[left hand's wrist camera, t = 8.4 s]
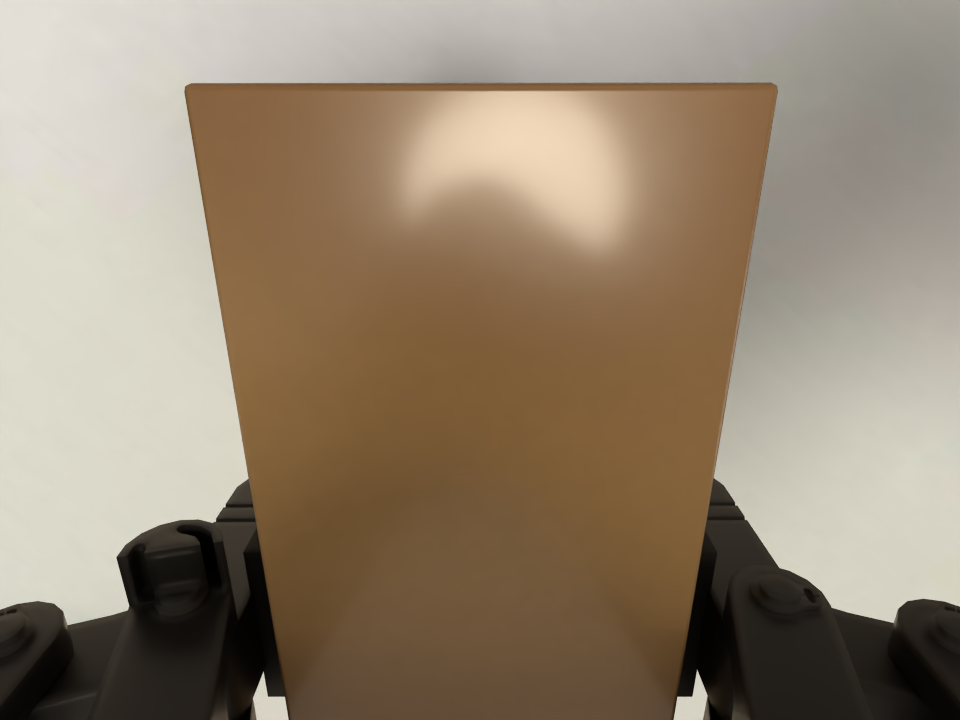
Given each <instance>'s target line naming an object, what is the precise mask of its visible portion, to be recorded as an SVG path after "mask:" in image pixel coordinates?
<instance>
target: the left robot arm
mask: <svg viewBox="0 0 960 720" xmlns="http://www.w3.org/2000/svg"><path fill="white" fill-rule="evenodd" d="M116 558H117V561H118V565H119V569H120V573H121V576H122V580H123V584H124V587H125V591H126V595H127V599H128V602H129V609H128V611H125V612H121V613H118V614H115V615H111V616H107V617H102V618H98V619H94V620H89V621H85V622H81V623H76V624H72V625H67V623H66V619H65V616H64V613H63V611H62V610H61V609H60V608H58V607H57V606H56V605H55V604H52V603H46V602H39V601H36V602H29V603H22V604H16V605H13V606H10V607H7V608H4V609H1V610H0V720H256V714H255V707H254V702H253V696H254V694H255V691H256V689H257V686H258V684H259V681H260V679H261V676H262V674H263V671H264V676H265V681H266V687H267V693H268V697H285V693H284V687H283V681H282V675H281V669H280V663H279V657H278V651H277V645H276V639H275V633H274V627H273V621H272V615H271V609H270V603H269V597H268V591H267V585H266V579H265V573H264V567H263V561H262V555H261V549H260V543H259V537H258V531H257V525H256V519H255V513H254V507H253V501H252V495H251V489H250V483H249V479H248V480H246V481H245V482H244V483H242V484H241V485H239V486H238V487H237V488H236V490H235V491H234V493H233V494H232V496H231V497H230V499H229V500H228V502H227V503H226V508H223V509H222V511H221V512H220V514H219V515H218V517H217V518H216V522H214V523H210V522H206V521H202V520H179V521H175V522H171V523H167V524H163V525H159V526H157V527H155V528H153V529H151V530H148V531H146V532H144V533H142V534H140V535H139V536H137V537H136V538H135V539H133V540H132V541H130V542H129V543H128V544H126V545H125V547H124V548H123V549H122V551H121V552H120V553H119V555H118V556H117V557H116ZM697 670H698V672H699V675H700V677H701V680H702V682H703V685H704V687H705V690H706V692H707V695H708V697H707V702H706V707H705V713H704V718H703V720H960V607H959V606H956V605H953V604H950V603H947V602H943V601H935V600H928V599H919V600H913V601H907V602H906V603H905V604H904V605H902V606H901V607H900V608H899V609H898V612H897V615H896V618H895V621H894V623H891V622H886V621H882V620H877V619H873V618H869V617H864V616H860V615H855V614H851V613H847V612H844V611H840V610H837V609H834V608H831V605H830V604H829V602H828V601H827V599H826V598H825V596H824V595H823V593H822V592H821V591H820V590H819V589H817V588H816V587H815V586H814V585H813V584H811V583H810V582H809V581H808V580H806V579H804V578H802V577H800V576H798V575H796V574H794V573H792V572H790V571H788V570H784V569H780V568H779V567H778V566H777V564H776V563H775V561H774V560H773V558H772V557H771V555H770V554H769V552H768V551H767V549H766V548H765V546H764V545H763V543H762V542H761V540H760V539H759V537H758V536H757V534H756V533H755V531H754V530H753V528H752V527H751V525H750V524H749V522H748V521H747V520H745V518H744V515H743V514H742V512H741V511H740V509H739V508H738V506H735V502H734V500H733V499H732V497H731V496H730V494H729V493H728V491H727V490H726V488H725V487H724V485H722V484H721V483H720V482H718V481H717V480H715V479H714V478H713V484H712V490H711V496H710V502H709V508H708V514H707V520H706V526H705V532H704V538H703V544H702V550H701V556H700V563H699V569H698V575H697V581H696V587H695V593H694V599H693V605H692V611H691V617H690V623H689V629H688V635H687V641H686V647H685V653H684V659H683V665H682V671H681V677H680V683H679V689H678V695H677V697H692V695H693V689H694V684H695V678H696V672H697Z"/></svg>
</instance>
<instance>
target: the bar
mask: <svg viewBox="0 0 960 720" xmlns="http://www.w3.org/2000/svg"><path fill="white" fill-rule="evenodd" d="M777 92H778V90H777V86H776V85H774V84H772V83H191V84H189V85H187V86H185V98H186V104H187V110H188V116H189V122H190V128H191V134H192V140H193V146H194V152H195V158H196V164H197V170H198V176H199V182H200V188H201V194H202V200H203V206H204V212H205V218H206V224H207V230H208V236H209V242H210V248H211V254H212V260H213V266H214V272H215V278H216V284H217V290H218V296H219V302H220V308H221V314H222V320H223V326H224V332H225V338H226V344H227V350H228V356H229V362H230V368H231V374H232V380H233V386H234V392H235V398H236V404H237V411H238V417H239V423H240V429H241V435H242V441H243V447H244V453H245V459H246V465H247V471H248V477H249V483H250V489H251V495H252V501H253V507H254V513H255V519H256V525H257V531H258V537H259V543H260V549H261V555H262V561H263V567H264V573H265V579H266V585H267V591H268V597H269V603H270V609H271V615H272V621H273V627H274V633H275V639H276V645H277V651H278V657H279V663H280V669H281V675H282V681H283V687H284V693H285V699H286V705H287V711H288V717H289V720H673V719H674V713H675V707H676V701H677V695H678V689H679V683H680V677H681V671H682V665H683V659H684V653H685V647H686V641H687V635H688V629H689V623H690V617H691V611H692V605H693V599H694V593H695V587H696V581H697V575H698V569H699V563H700V556H701V550H702V544H703V538H704V532H705V526H706V520H707V514H708V508H709V502H710V496H711V490H712V484H713V478H714V472H715V466H716V460H717V454H718V448H719V442H720V436H721V430H722V424H723V418H724V412H725V406H726V400H727V394H728V388H729V382H730V375H731V369H732V363H733V357H734V351H735V345H736V339H737V333H738V327H739V321H740V315H741V309H742V303H743V297H744V291H745V285H746V279H747V273H748V267H749V261H750V255H751V249H752V243H753V237H754V231H755V225H756V219H757V213H758V207H759V200H760V194H761V188H762V182H763V176H764V170H765V164H766V158H767V152H768V146H769V140H770V134H771V128H772V122H773V116H774V110H775V104H776V98H777Z"/></svg>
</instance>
